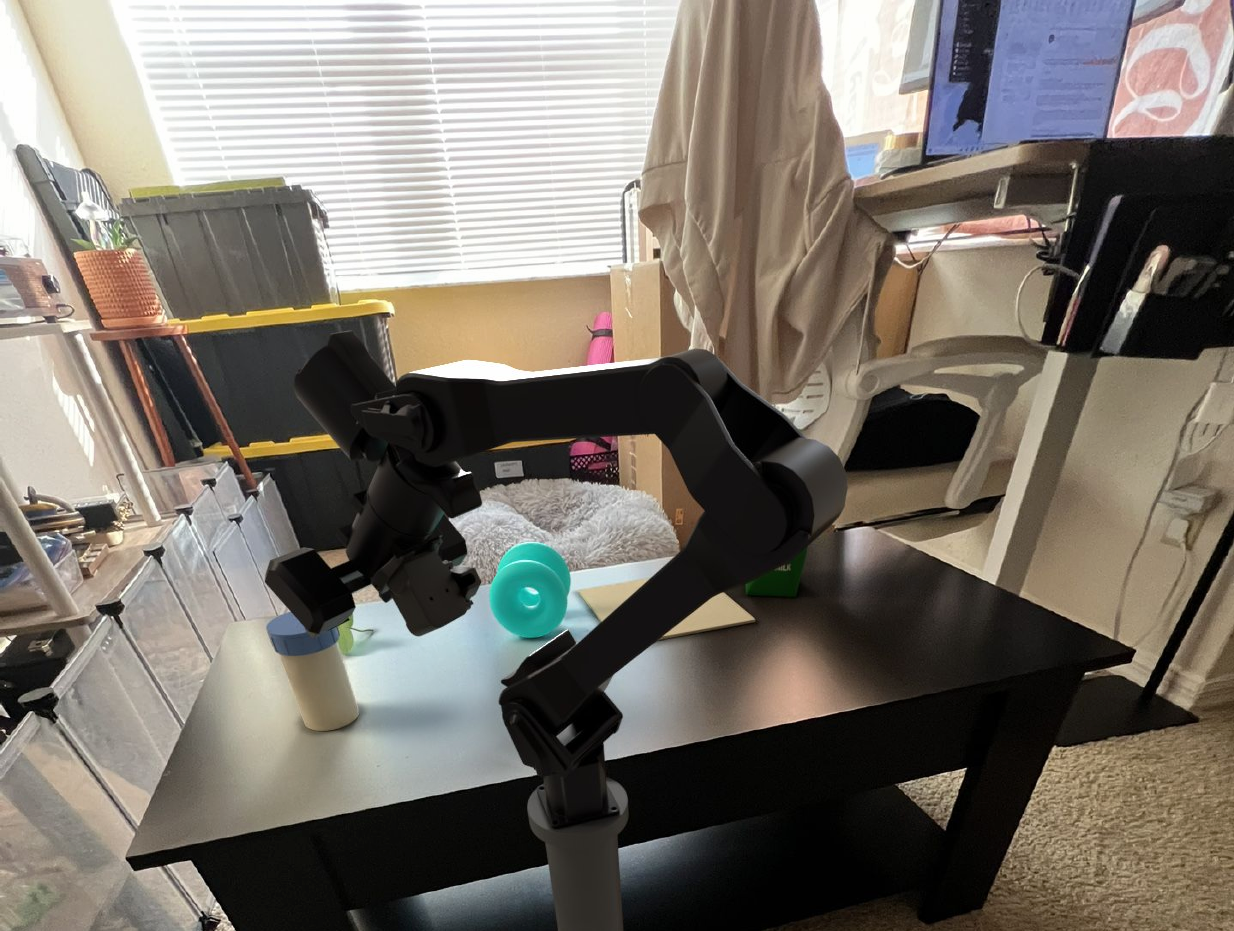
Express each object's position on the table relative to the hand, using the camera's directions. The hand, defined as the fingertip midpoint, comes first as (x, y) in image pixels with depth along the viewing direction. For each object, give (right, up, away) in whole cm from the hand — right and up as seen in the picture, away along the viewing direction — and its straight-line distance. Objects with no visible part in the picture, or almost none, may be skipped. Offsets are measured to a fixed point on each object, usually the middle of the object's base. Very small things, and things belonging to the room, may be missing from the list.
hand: (348, 615), depth 70 cm
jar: (-6, -8, +12) cm, 16 cm away
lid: (-7, +1, +5) cm, 8 cm away
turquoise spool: (+15, +7, +29) cm, 33 cm away
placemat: (+32, +10, +32) cm, 46 cm away
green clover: (-9, +4, +27) cm, 29 cm away
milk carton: (+49, +14, +35) cm, 62 cm away
